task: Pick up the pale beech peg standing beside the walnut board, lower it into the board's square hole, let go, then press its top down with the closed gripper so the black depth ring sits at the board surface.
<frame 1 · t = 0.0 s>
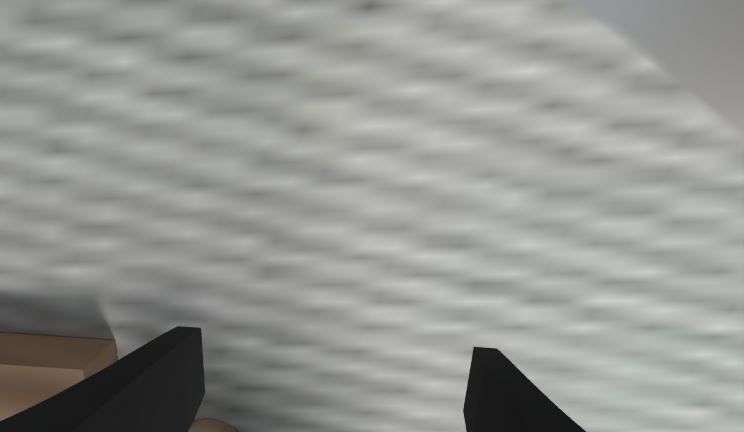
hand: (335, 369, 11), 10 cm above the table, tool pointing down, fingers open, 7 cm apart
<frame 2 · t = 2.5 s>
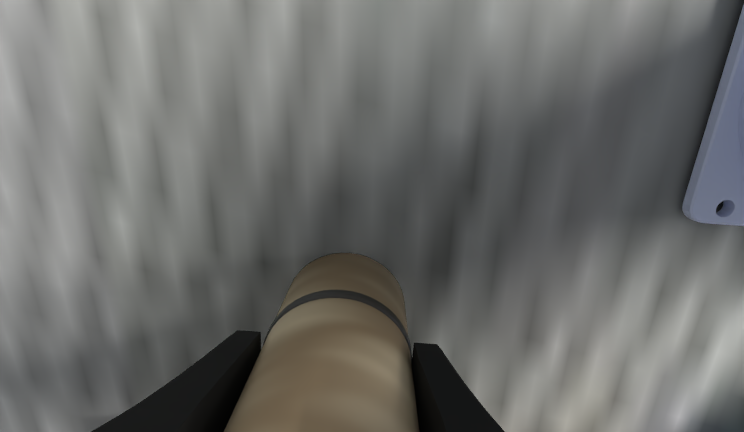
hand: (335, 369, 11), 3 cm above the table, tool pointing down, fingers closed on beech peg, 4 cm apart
beech peg: (345, 307, 14), on the table, touching gripper
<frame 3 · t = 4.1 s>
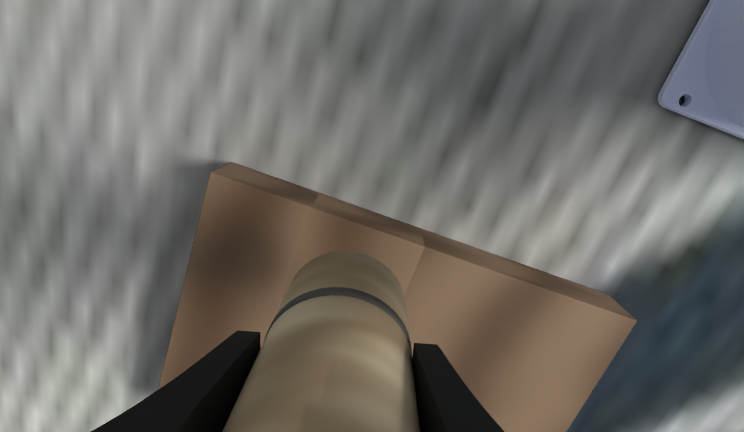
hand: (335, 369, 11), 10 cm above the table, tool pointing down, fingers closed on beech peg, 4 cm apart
walnut board: (378, 344, 22), on the table
beech peg: (345, 305, 14), point 7 cm above the table, touching gripper
when the fingers open (3 cm above the table, at t = 5.8 s): beech peg stays where it is, resting in walnut board.
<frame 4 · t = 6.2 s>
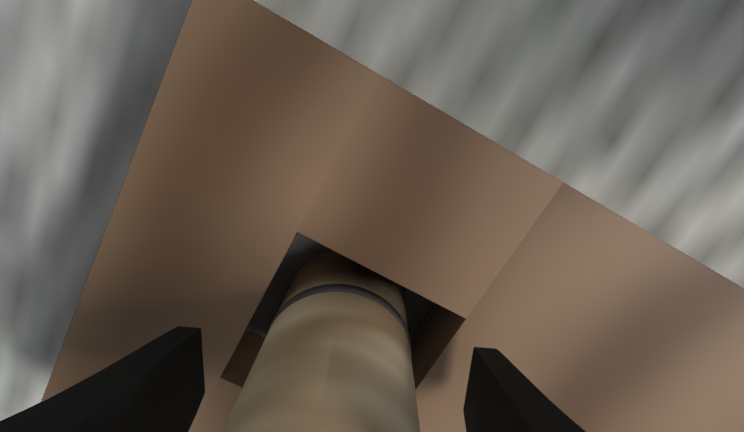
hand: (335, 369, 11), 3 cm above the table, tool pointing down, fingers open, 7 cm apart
walnut board: (421, 342, 14), on the table
beech peg: (346, 302, 14), resting in walnut board
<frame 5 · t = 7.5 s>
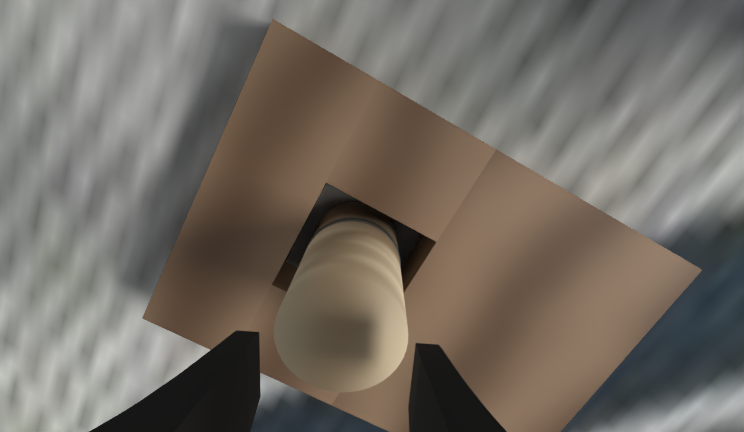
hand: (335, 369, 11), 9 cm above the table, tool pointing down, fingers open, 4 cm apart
walnut board: (409, 270, 20), on the table
beech peg: (355, 241, 20), resting in walnut board
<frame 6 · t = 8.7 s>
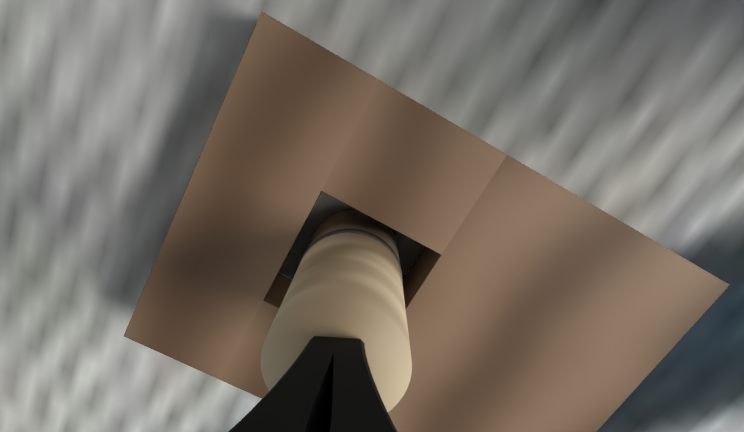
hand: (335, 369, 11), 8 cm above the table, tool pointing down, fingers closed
walnut board: (411, 283, 19), on the table
beech peg: (354, 252, 18), resting in walnut board
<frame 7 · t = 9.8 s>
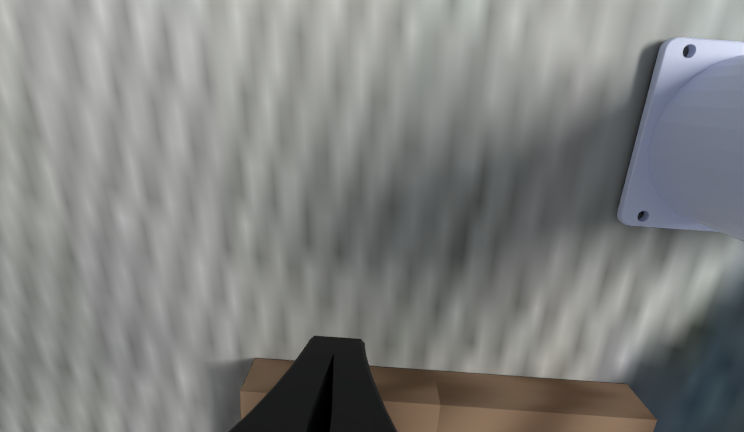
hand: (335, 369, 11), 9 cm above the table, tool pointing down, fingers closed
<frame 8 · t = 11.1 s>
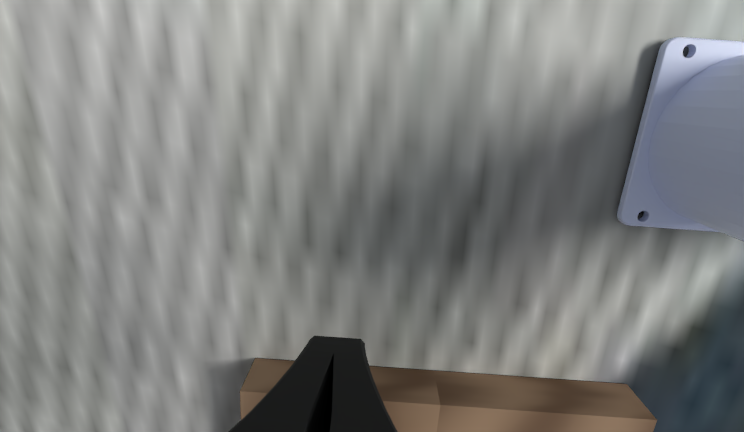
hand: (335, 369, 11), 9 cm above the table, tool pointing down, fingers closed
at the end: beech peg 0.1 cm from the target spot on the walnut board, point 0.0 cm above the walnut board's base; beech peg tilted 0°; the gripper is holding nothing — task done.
